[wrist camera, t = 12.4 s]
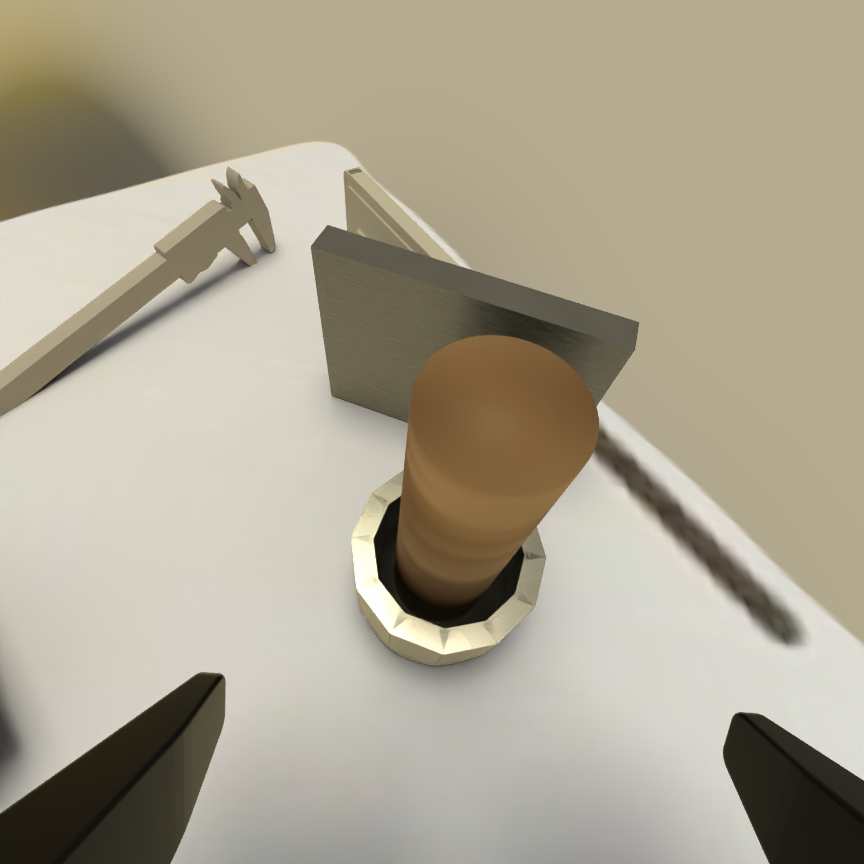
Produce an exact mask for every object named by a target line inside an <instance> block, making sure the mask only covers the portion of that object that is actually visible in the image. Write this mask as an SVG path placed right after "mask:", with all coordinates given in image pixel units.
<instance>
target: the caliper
mask: <svg viewBox="0 0 864 864" xmlns="http://www.w3.org/2000/svg"><path fill="white" fill-rule="evenodd" d="M226 176H227V183H228V187H229V188H227V187H226V186H224V185H223V184H221V183H220V182H218V181H216V180H215V179H212V180H211V181H212V183H213V185H214V186H215V188H216V190H217V191H218V192H219V194H220V195H221V199H220V200H221V201H222V202H221V203H218V202H216V201H215V200H212V201H210V202H209V203H207V204H206V205H205V206H203V207H202V208H201V209H200V210H198V211H197V212H196V213H194V214H193V215H192V216H191V217H189V218H188V219H187V220H185V221H184V222H183V223H182V224H180V225H179V226H178V227H177V228H175V229H174V230H173V231H171V232H170V233H169V234H168V235H166V236H165V237H164V238H162V239H161V240H160V241H159V242H157V243H156V244H155V245H154V247H155V250H156V251H157V252H156V253H154V254H153V255H152V256H150V257H149V258H148V259H146V260H145V261H144V262H142V263H141V264H140V265H139V266H137V267H136V268H135V269H133V270H132V271H131V272H129V273H128V274H127V275H125V276H124V277H123V278H121V279H120V280H119V281H118V282H116V283H115V284H114V285H112V286H111V287H110V288H108V289H107V290H106V291H104V292H103V293H102V294H100V295H99V296H98V297H97V298H95V299H94V300H93V301H91V302H90V303H89V304H87V305H86V306H85V307H83V308H82V309H81V310H80V311H78V312H77V313H76V314H74V315H73V316H72V317H70V318H69V319H68V320H66V321H65V322H64V323H62V324H61V325H60V326H59V327H57V328H56V329H55V330H53V331H52V332H51V333H49V334H48V335H47V336H45V337H44V338H43V339H41V340H40V341H39V342H38V343H36V344H35V345H34V346H32V347H31V348H30V349H28V350H27V351H26V352H25V353H23V354H22V355H21V356H19V357H18V358H17V359H15V360H14V361H13V362H12V363H10V364H9V365H8V366H6V367H5V368H4V369H2V370H1V371H0V416H1V415H3V414H5V413H6V412H8V411H10V410H11V409H13V408H15V407H16V406H18V405H20V404H21V403H23V402H25V401H26V400H27V399H28V398H30V397H31V396H32V395H33V394H35V393H36V392H37V391H38V390H39V389H41V388H42V387H43V386H44V385H46V384H47V383H48V382H49V381H51V380H52V379H53V378H54V377H56V376H57V375H58V374H59V373H61V372H62V371H63V370H64V369H65V368H67V367H68V366H69V365H70V364H72V363H73V362H74V361H75V360H77V359H78V358H79V357H80V356H82V355H83V354H84V353H85V352H87V351H88V350H89V349H90V348H91V347H93V346H94V345H95V344H96V343H98V342H99V341H100V340H101V339H103V338H104V337H105V336H106V335H108V334H109V333H110V332H111V331H113V330H114V329H115V328H116V327H118V326H119V325H120V324H121V323H123V322H124V321H125V320H127V319H128V318H129V317H130V316H132V315H133V314H134V313H135V312H137V311H138V310H139V309H140V308H142V307H143V306H144V305H145V304H147V303H148V302H149V301H150V300H152V299H153V298H154V297H155V296H157V295H158V294H159V293H161V292H162V291H163V290H164V289H166V288H167V287H168V286H169V285H171V284H172V283H173V282H174V281H176V280H177V279H178V278H179V277H180V278H181V279H182V280H184V281H185V282H186V283H191V282H192V281H193V280H194V279H195V278H196V276H197V275H198V274H199V273H200V272H202V271H204V270H206V269H208V268H209V267H210V265H211V264H212V262H213V261H214V260H215V258H216V257H217V253H218V252H219V251H221V250H222V249H223V248H224V247H226V248H227V249H228V250H230V251H231V252H232V253H233V254H235V255H236V256H237V257H238V258H240V259H241V260H242V261H244V262H245V263H247V264H248V265H250V266H252V265H253V264H255V263H257V262H256V261H255V259H254V258H253V253H252V251H251V250H250V248H249V246H248V245H247V243H246V241H245V240H244V238H243V236H241V235H240V233H239V229H240V228H241V227H243V226H244V225H245V224H246V223H247V222H248V223H249V225H250V227H251V229H252V230H253V232H254V234H255V235H256V237H257V239H258V241H259V243H260V245H261V247H263V248H264V249H266V250H267V251H268V252H270V253H272V252H273V251H274V249H275V246H276V245H275V240H274V235H273V230H272V226H271V221H270V217H269V212H268V209H267V207H266V205H265V203H264V201H263V200H262V198H261V196H260V194H259V192H258V190H257V188H256V186H255V185H254V184H252V183H251V182H249V181H248V180H246V179H244V178H243V179H242V178H241V176H240V174H239V173H237V172H236V171H234V170H233V169H231V168H229V167H228V168H227V171H226Z"/></svg>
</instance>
